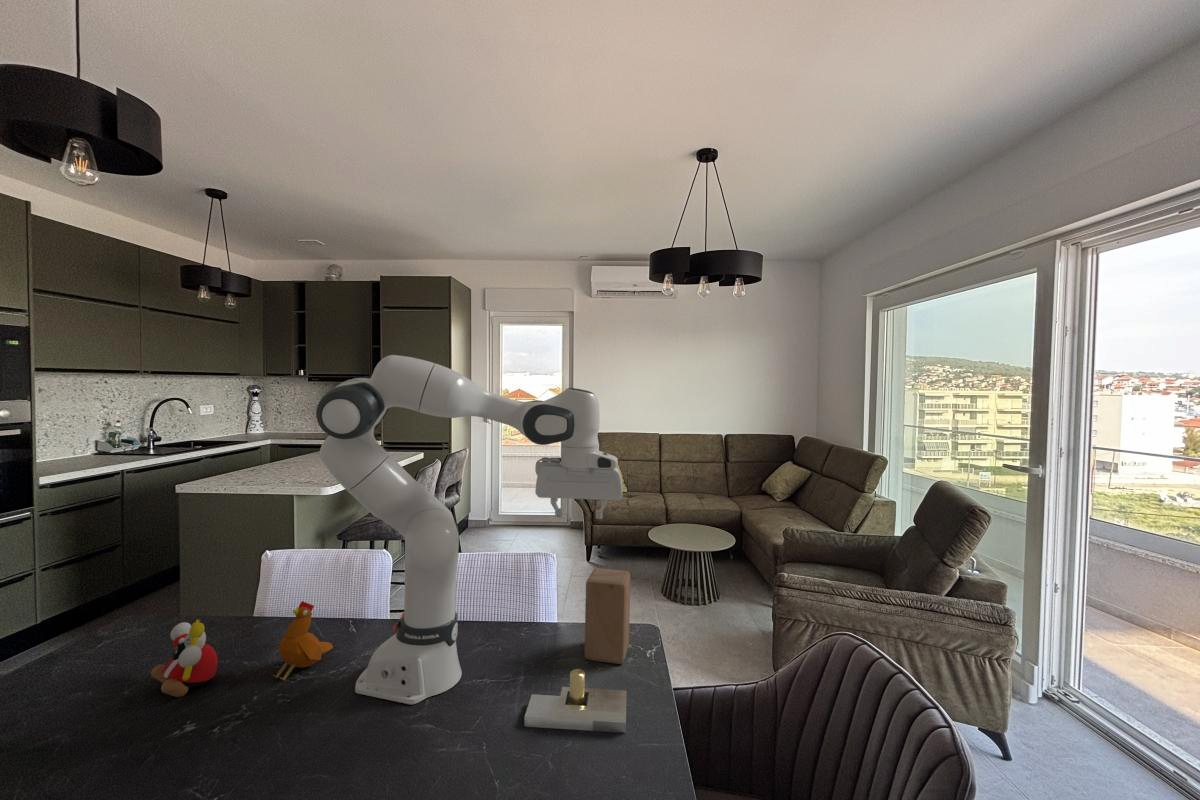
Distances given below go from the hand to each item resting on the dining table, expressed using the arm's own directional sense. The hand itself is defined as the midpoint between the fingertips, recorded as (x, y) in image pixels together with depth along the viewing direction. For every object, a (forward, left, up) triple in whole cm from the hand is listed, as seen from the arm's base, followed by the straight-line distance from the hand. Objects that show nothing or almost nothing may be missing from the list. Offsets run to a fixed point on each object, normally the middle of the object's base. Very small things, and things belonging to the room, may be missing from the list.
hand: (578, 517), depth 113 cm
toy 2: (-64, -3, -37) cm, 74 cm away
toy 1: (-84, -13, -37) cm, 93 cm away
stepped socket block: (+2, -15, -37) cm, 40 cm away
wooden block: (+7, +10, -37) cm, 39 cm away
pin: (+2, -15, -37) cm, 40 cm away
